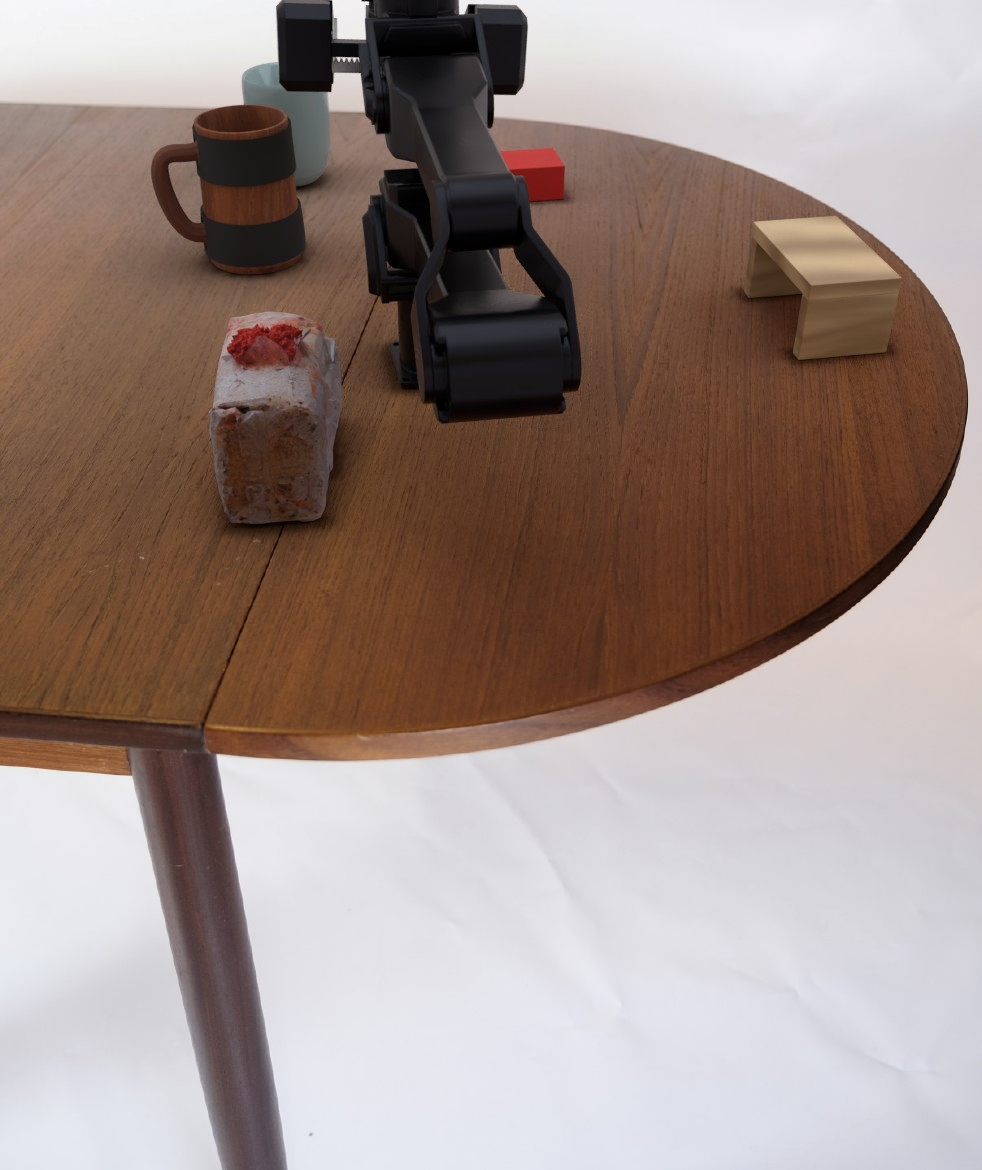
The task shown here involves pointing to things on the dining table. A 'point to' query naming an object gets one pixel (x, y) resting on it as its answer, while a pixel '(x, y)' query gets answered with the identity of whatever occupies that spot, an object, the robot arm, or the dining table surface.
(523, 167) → the block
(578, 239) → the dining table surface
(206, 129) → the mug
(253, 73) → the cup
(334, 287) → the dining table surface
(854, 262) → the stand
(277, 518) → the food item
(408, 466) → the dining table surface
